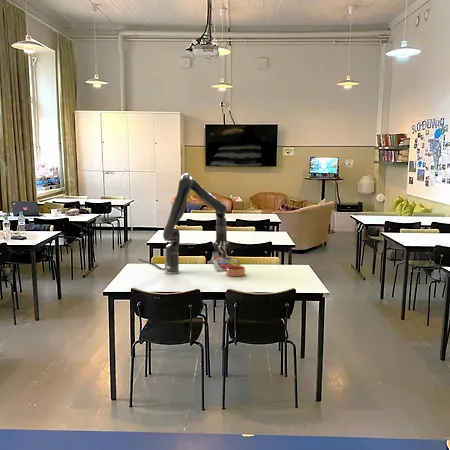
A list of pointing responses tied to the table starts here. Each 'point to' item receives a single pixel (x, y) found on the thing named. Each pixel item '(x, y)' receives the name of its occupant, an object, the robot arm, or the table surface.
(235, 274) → the bowl
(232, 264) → the gear board
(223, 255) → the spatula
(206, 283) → the table surface
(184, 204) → the robot arm
